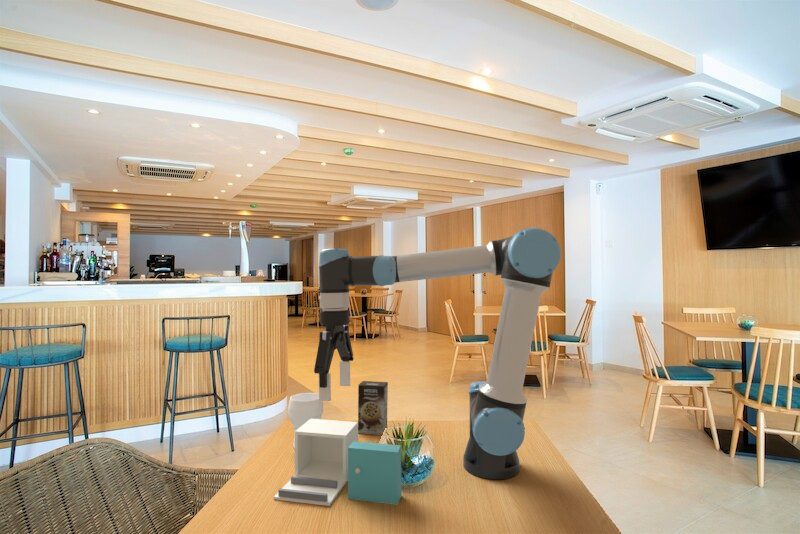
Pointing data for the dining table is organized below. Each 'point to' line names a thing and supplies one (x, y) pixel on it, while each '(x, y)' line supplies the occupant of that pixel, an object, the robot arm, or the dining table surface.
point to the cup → (304, 409)
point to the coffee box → (372, 407)
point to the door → (374, 472)
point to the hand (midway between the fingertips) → (335, 392)
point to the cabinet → (320, 461)
